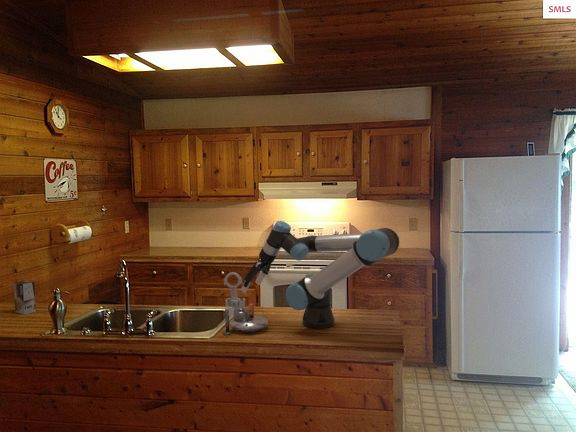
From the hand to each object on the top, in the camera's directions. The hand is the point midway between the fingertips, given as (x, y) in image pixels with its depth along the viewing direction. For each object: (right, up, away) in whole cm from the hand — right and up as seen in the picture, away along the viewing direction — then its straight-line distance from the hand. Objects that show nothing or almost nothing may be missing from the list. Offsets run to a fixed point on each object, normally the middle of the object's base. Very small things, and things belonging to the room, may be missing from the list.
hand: (250, 287), depth 224 cm
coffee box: (-121, -17, +25) cm, 124 cm away
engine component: (-10, -16, +20) cm, 27 cm away
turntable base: (0, -17, -11) cm, 21 cm away
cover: (-3, -13, -9) cm, 16 cm away
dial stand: (-9, -18, -17) cm, 26 cm away
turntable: (0, -15, -11) cm, 19 cm away
